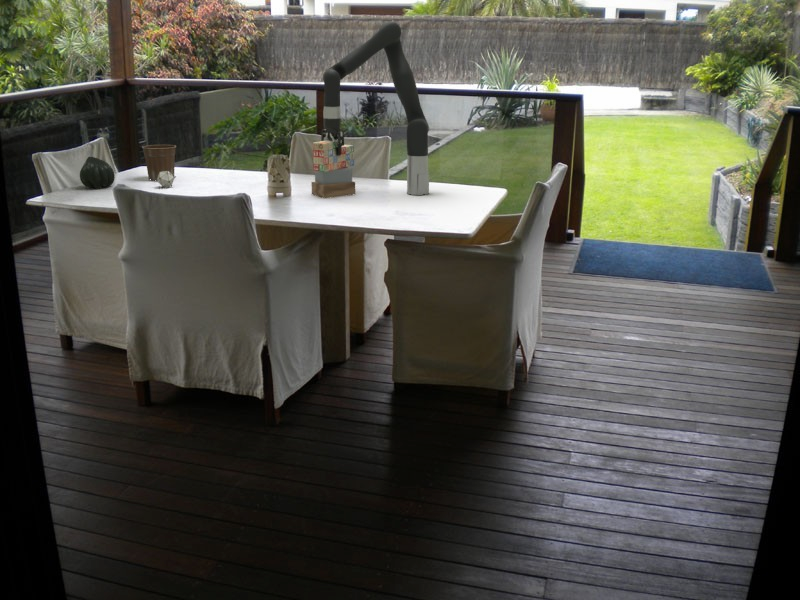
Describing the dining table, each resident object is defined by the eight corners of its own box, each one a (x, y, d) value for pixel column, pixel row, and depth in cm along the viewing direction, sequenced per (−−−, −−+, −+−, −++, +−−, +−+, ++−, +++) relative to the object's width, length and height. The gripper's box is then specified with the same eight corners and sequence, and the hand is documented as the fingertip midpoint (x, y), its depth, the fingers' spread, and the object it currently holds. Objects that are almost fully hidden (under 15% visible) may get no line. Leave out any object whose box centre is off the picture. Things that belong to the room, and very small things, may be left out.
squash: (123, 176, 392) (108, 149, 395) (94, 181, 381) (78, 154, 384) (113, 193, 402) (98, 167, 404) (84, 199, 391) (69, 172, 393)
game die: (162, 195, 395) (147, 178, 392) (172, 186, 402) (158, 169, 398) (173, 188, 390) (158, 170, 387) (183, 178, 396) (168, 161, 393)
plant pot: (152, 176, 426) (150, 143, 421) (183, 177, 424) (181, 144, 419) (139, 181, 411) (136, 147, 406) (170, 182, 408) (168, 148, 404)
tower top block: (352, 182, 378) (352, 168, 376) (323, 184, 371) (322, 170, 370) (343, 179, 385) (343, 166, 384) (315, 181, 379) (314, 168, 377)
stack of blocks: (343, 164, 387) (343, 137, 383) (354, 166, 384) (354, 138, 380) (313, 170, 370) (312, 142, 366) (324, 171, 367) (323, 143, 363)
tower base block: (355, 195, 380) (355, 182, 378) (324, 199, 371) (324, 185, 369) (342, 191, 388) (342, 178, 387) (311, 195, 379) (311, 182, 378)
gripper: (348, 117, 366) (349, 155, 371) (330, 115, 377) (330, 152, 381) (334, 118, 362) (335, 157, 366) (315, 116, 372) (316, 153, 377)
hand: (332, 154), depth 374 cm, fingers open, 8 cm apart
